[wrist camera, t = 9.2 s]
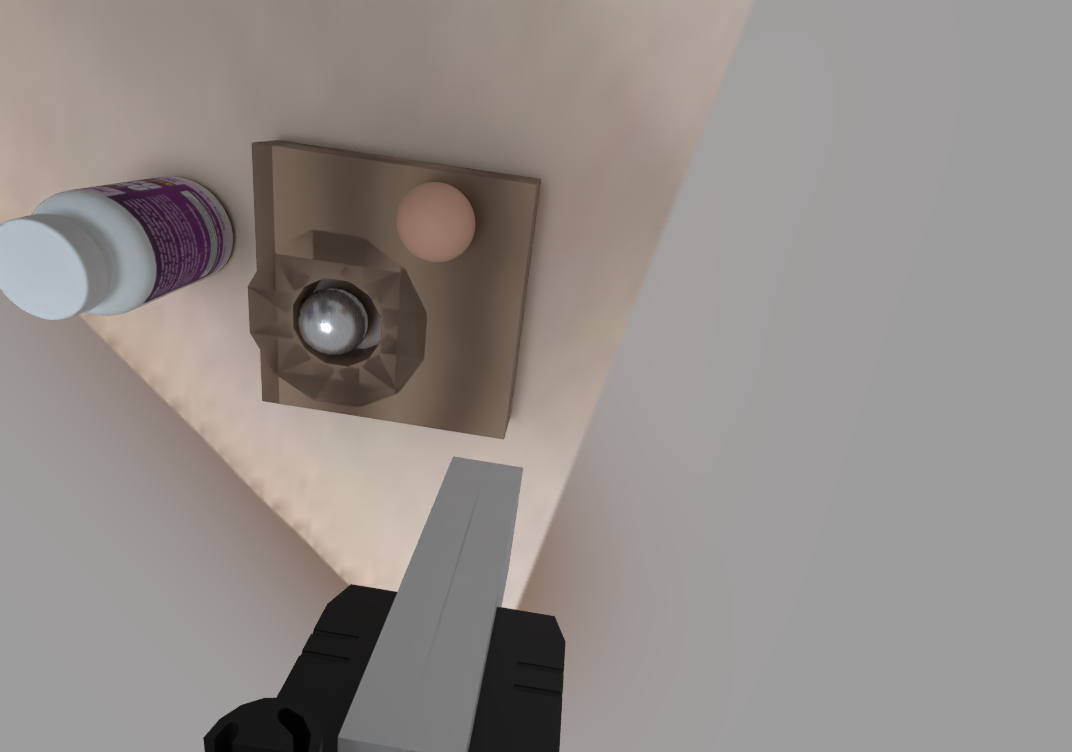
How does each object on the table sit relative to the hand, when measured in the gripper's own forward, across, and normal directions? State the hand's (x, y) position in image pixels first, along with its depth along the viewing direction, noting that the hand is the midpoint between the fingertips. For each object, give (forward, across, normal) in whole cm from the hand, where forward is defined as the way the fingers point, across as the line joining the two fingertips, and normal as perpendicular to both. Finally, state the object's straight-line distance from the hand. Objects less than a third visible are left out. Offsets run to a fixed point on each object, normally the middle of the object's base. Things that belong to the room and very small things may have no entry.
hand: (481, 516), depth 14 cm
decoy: (+16, -5, +3) cm, 17 cm away
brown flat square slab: (+20, -8, -2) cm, 22 cm away
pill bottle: (+21, -19, 0) cm, 28 cm away
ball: (+19, -10, -3) cm, 22 cm away
